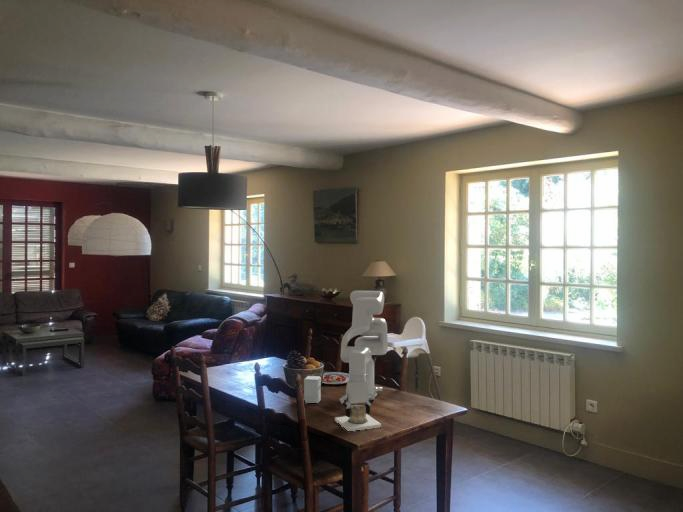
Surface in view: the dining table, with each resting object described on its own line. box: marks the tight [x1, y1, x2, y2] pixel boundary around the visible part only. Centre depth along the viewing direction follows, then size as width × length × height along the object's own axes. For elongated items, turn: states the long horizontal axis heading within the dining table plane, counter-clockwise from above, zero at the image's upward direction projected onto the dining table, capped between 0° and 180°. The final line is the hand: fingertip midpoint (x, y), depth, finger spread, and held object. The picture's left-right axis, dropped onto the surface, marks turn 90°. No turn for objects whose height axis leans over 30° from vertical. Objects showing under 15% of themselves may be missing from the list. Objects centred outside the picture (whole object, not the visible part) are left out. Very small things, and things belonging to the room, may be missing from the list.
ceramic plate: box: [321, 371, 349, 386], centre depth 324 cm, size 26×26×3 cm
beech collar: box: [349, 404, 366, 423], centre depth 248 cm, size 7×7×6 cm
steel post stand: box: [334, 406, 382, 432], centre depth 248 cm, size 16×16×8 cm
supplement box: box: [303, 375, 322, 404], centre depth 282 cm, size 7×7×13 cm
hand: (357, 415), depth 248 cm, fingers open, 9 cm apart
